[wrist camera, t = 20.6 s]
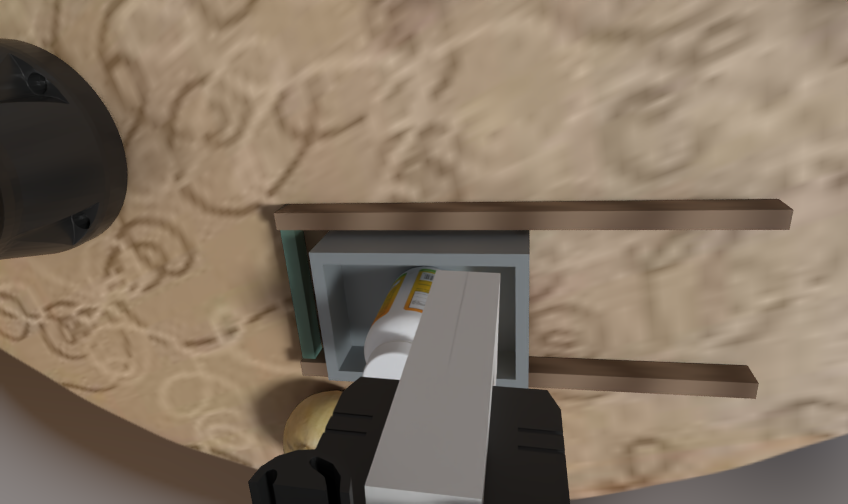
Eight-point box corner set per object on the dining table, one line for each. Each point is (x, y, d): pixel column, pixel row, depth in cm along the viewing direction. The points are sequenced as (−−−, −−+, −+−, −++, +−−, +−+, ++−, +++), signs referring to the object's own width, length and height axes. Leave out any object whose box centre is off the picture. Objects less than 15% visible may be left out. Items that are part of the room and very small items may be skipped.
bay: (312, 360, 44) (302, 375, 42) (285, 204, 39) (273, 213, 37) (744, 380, 38) (755, 398, 36) (778, 199, 33) (793, 209, 31)
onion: (407, 406, 44) (387, 473, 38) (369, 469, 47) (344, 540, 41) (318, 361, 44) (282, 420, 37) (286, 427, 47) (248, 492, 41)
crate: (346, 348, 42) (328, 380, 38) (329, 230, 38) (308, 252, 35) (528, 356, 39) (528, 390, 36) (529, 230, 36) (529, 254, 32)
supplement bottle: (404, 339, 40) (368, 431, 31) (379, 273, 38) (334, 351, 29) (476, 326, 38) (460, 418, 29) (454, 256, 36) (430, 333, 28)
